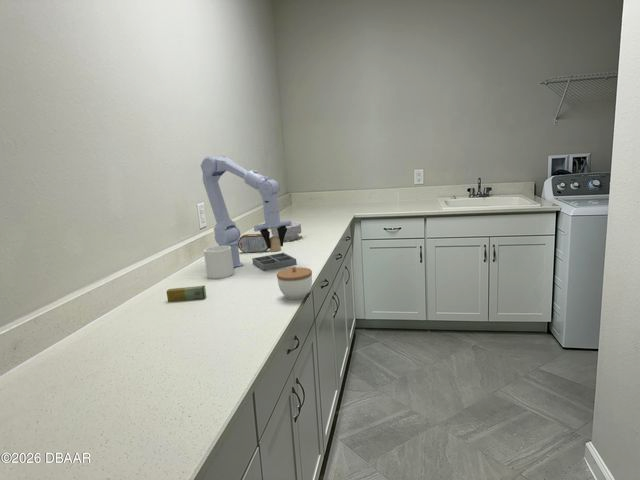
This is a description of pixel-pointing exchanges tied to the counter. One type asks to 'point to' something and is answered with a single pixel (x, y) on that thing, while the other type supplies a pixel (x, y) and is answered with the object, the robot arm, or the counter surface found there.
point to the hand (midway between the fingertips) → (275, 247)
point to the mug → (219, 262)
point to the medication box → (186, 294)
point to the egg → (275, 244)
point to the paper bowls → (289, 231)
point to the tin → (252, 243)
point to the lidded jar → (295, 282)
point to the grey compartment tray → (274, 261)
